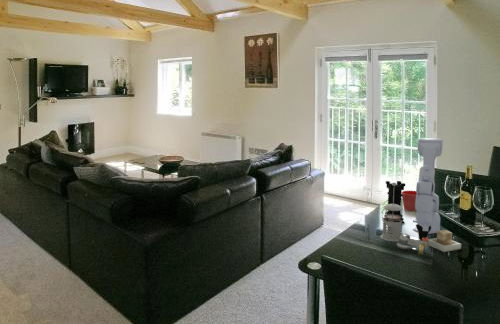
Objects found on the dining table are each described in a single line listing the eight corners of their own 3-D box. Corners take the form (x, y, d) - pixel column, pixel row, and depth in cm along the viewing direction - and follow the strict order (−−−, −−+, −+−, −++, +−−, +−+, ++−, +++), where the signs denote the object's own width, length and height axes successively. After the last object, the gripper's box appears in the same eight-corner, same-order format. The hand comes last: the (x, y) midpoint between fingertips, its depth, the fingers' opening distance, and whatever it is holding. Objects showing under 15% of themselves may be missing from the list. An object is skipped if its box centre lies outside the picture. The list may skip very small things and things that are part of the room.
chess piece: (404, 223, 193) (406, 184, 190) (388, 223, 193) (389, 184, 190) (398, 218, 201) (400, 180, 198) (383, 219, 201) (384, 180, 198)
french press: (388, 242, 168) (391, 185, 164) (373, 233, 179) (375, 180, 175) (408, 240, 170) (411, 183, 166) (392, 231, 181) (394, 178, 178)
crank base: (404, 243, 166) (405, 235, 166) (427, 253, 155) (427, 245, 154) (393, 245, 164) (393, 237, 164) (415, 255, 153) (415, 247, 152)
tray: (443, 241, 168) (443, 236, 167) (460, 248, 159) (461, 243, 159) (426, 244, 165) (427, 239, 164) (444, 252, 156) (444, 246, 156)
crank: (397, 243, 162) (398, 233, 161) (401, 240, 165) (401, 231, 164) (426, 249, 155) (426, 239, 154) (429, 246, 158) (429, 236, 157)
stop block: (442, 247, 159) (443, 233, 159) (436, 244, 163) (437, 230, 162) (451, 247, 160) (452, 233, 159) (444, 243, 164) (445, 229, 163)
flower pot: (396, 207, 222) (397, 191, 220) (412, 206, 225) (413, 189, 223) (409, 212, 212) (410, 195, 210) (426, 210, 215) (427, 193, 213)
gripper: (411, 204, 165) (410, 235, 168) (415, 214, 152) (413, 247, 154) (430, 205, 163) (428, 236, 165) (435, 216, 150) (433, 249, 152)
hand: (422, 242), depth 160 cm, fingers closed, pressing on crank
